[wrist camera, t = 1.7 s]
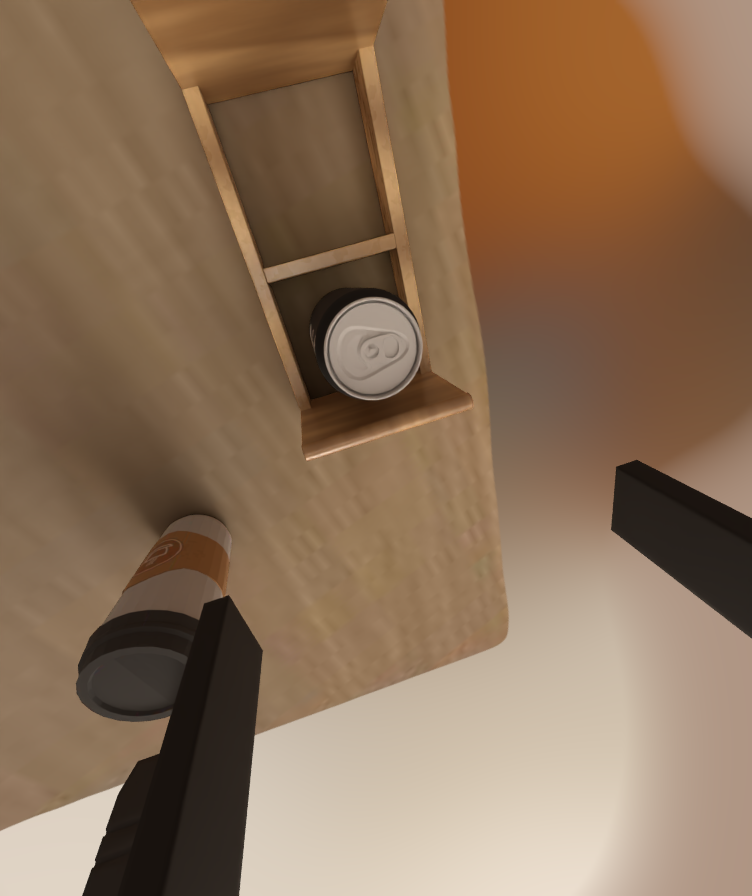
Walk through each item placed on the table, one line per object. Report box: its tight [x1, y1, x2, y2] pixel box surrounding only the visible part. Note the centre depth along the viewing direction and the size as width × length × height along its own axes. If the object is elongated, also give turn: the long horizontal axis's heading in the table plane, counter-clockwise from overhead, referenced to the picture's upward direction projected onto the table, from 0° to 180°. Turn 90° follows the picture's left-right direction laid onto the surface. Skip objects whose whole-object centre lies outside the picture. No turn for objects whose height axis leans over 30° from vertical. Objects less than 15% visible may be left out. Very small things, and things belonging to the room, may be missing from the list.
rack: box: [130, 0, 473, 461], centre depth 24 cm, size 23×12×11 cm, turn 14°
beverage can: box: [310, 288, 423, 400], centre depth 25 cm, size 7×7×12 cm
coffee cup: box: [76, 515, 232, 722], centre depth 29 cm, size 8×8×15 cm
